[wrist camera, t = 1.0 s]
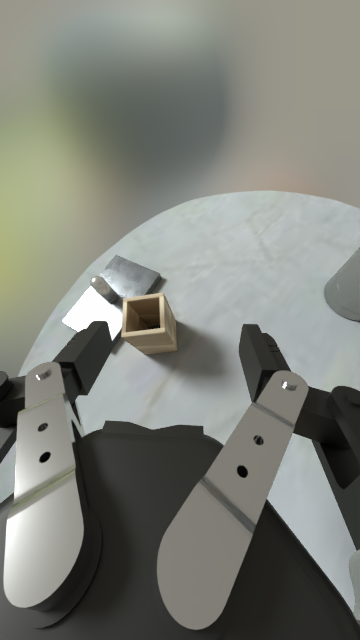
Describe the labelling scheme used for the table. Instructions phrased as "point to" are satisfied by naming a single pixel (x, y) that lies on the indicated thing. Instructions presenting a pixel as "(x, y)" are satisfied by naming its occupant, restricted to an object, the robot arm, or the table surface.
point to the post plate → (125, 289)
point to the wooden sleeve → (149, 324)
